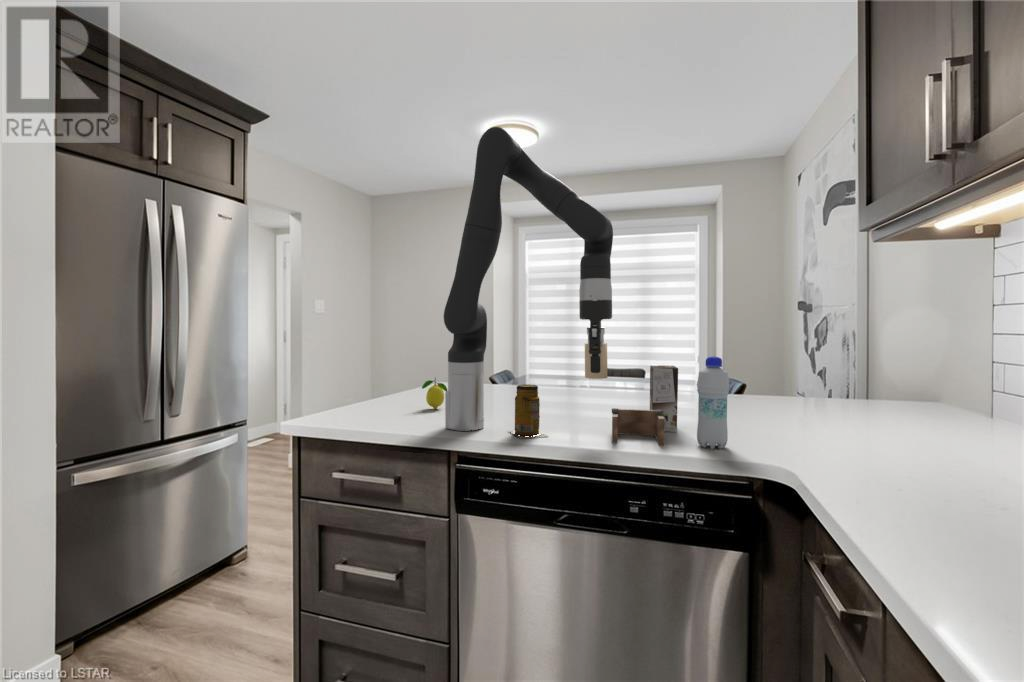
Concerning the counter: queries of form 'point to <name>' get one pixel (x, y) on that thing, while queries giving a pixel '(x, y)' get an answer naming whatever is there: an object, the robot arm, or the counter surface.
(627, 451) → the counter surface
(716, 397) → the bottle
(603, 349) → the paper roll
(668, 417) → the coffee box
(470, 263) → the robot arm
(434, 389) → the lemon
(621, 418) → the holder
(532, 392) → the condiment
